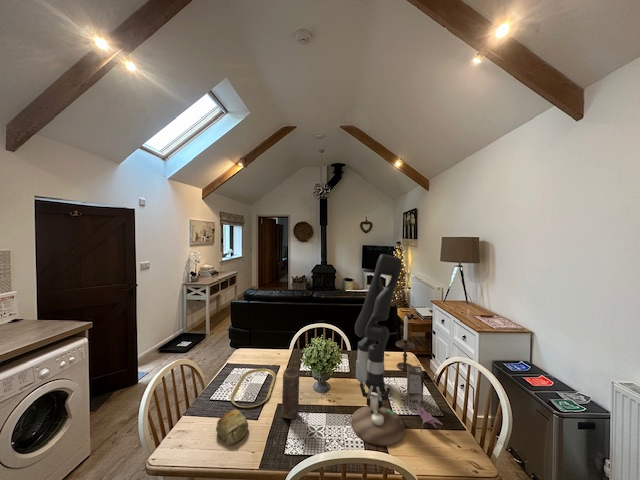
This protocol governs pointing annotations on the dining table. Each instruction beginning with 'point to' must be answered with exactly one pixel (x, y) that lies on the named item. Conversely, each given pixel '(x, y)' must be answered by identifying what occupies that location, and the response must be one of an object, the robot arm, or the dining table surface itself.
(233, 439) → the pastry
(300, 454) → the dining table surface
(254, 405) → the brass oval ring
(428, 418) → the lily
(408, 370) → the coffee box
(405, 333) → the candlestick
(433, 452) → the dining table surface
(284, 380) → the candle
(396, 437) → the brown flat rounded piece
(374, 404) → the tuning crank
